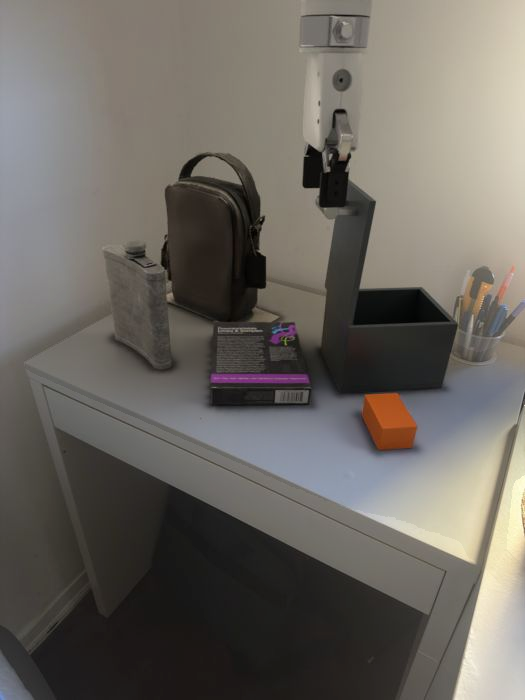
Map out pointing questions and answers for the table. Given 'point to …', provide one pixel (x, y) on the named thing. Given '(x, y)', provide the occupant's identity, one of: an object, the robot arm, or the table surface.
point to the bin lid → (348, 248)
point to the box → (258, 364)
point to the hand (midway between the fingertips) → (322, 196)
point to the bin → (388, 341)
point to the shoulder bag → (215, 244)
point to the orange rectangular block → (388, 421)
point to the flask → (138, 301)
